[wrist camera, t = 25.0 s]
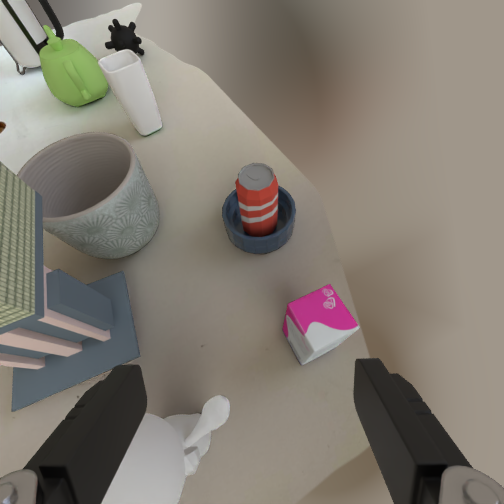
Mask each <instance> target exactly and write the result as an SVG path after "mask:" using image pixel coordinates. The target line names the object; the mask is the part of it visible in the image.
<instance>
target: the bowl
mask: <svg viewBox="0 0 504 504" xmlns="http://www.w3.org/2000/svg"><path fill="white" fill-rule="evenodd" d="M295 214H296V209H295V202H294V200H293V198H292V197H291V195H290V194H289V193H288V192H287V191H286V190H285V189H284V188H282V187H280V186H278V213H277V225H276V227H275V229H274V231H273V233H271V234H268V235H266V236H264V237H254V236H250V235H249V234H248V233H247V232H246V231H244V230H243V225H242V219H241V213H240V207H239V202H238V196H237V190H236V189H235V190H234V191H232V192H231V194H230V195H229V196H228V197H227V198H226V200H225V202H224V205H223V207H222V217H223V221H224V224H225V228H226V231H227V234H228V237H229V239H230V240H231V241H232V243H233V244H234V245H235V246H236V247H238V248H240V249H242V250H243V251H245V252H250V253H255V254H258V253H268V252H271V251H274V250H277V249H279V248H280V247H281V246H283V245H284V244H285V243H286V242H287V241H288V240H289V238H290V237H291V235H292V232H293V228H294V222H295Z"/></svg>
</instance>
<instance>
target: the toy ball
mask: <svg viewBox="0 0 504 504" xmlns="http://www.w3.org/2000/svg"><path fill="white" fill-rule="evenodd" d="M112 22H113V24H114V26H115V28H114V27H113V26H112V25H109V27H108V29H109V31H110V32H111V41H110V42H106V43H105V46H106V48H107V49H113V48H115V50H116V51H117V52H118V51H121V50H125V49H128V50H131V51H133V52H134V53H135V54H137V53H139V54H140V55H144V50H143V49H141V48H140V47H139V44H141V42H142V41H141V39H140V38H139V37H136V35H135V33H134V30H135V28H136V26H135V23H133V22H131V23H130V24H129V27H126V26H122V25H120V24H119V22H118V20H117V19H113V21H112Z"/></svg>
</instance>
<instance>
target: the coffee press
mask: <svg viewBox="0 0 504 504" xmlns="http://www.w3.org/2000/svg"><path fill="white" fill-rule="evenodd" d="M39 2H40V3H41V5H42V7H43V9H44V10H45V12H46V14H47V15H48V17H49V19H50V20H51V22H52V24H53V26H54V27H55V30H56V37H59V38H60V39H61V40H63V37H64V33H63V29H62V27H61V24H60V23H59V21H58V19H57V17H56V15H55V13H54V12H53V10H52V8H51V6H50V5H49V3H48V1H47V0H39ZM48 40H49V38H48V36H47V34H46V32H45V31H44V29H43V27H42V26H41V24H40V23H39V21H38V19H37V18H36V16H35V15H34V13H33V11H32V10H31V8H30V6H29V5H28V4H27V2H26V0H0V42H1V44H2V45H3V46H4V48H5V49H6V50H7V52H8V53H9V54H10V56H11V57H12V58H13V60H14V61H15V63H16V65H17V71H18V72H19V66H18V64H19V65H21V66H23V72H22V73H20V72H19V73H20V74H25V69H26V68H27V67H28V68H33V67H39V66H41V63H40V56H39V54H40V50H41V49H42V48H43V47H44V46H46V45H48V43H47V41H48Z"/></svg>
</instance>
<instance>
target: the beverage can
mask: <svg viewBox="0 0 504 504" xmlns="http://www.w3.org/2000/svg"><path fill="white" fill-rule="evenodd" d="M235 184H236V190H237V196H238V202H239V207H240V213H241V219H242V225H243V230H244V231H246V232H247V233H248V234H249V235H250V236H254V237H264V236H266V235H268V234H271V233H273V231H274V229H275V227H276V225H277V213H278V183H277V179H276V176H275V174H274V173H273V170H272V168H270V167H269V166H267V165H265V164H262V163H252V164H249V165H247V166H244V167H243V168H242V169H241V171H240V172H239V174H238V179H237V180H236V182H235Z"/></svg>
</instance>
